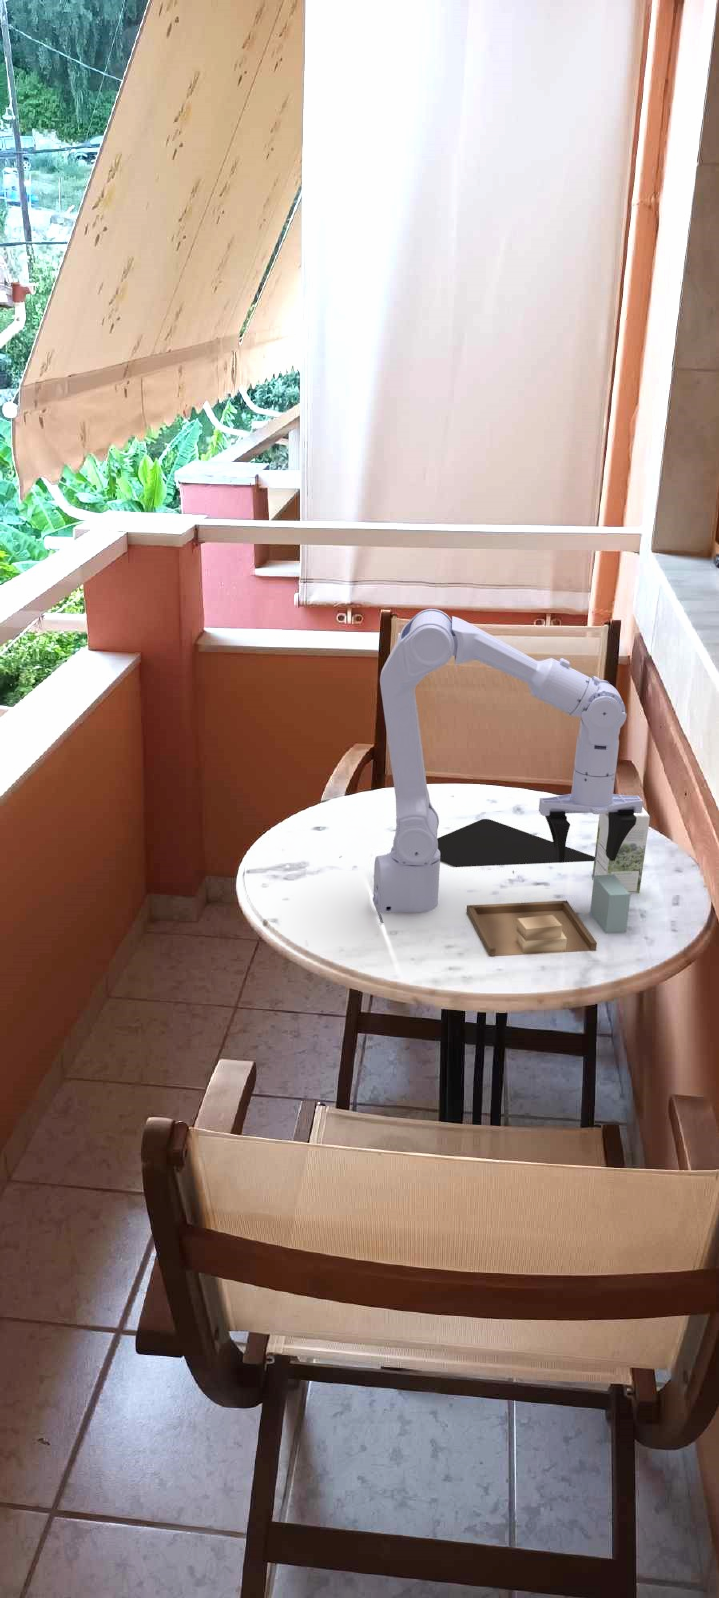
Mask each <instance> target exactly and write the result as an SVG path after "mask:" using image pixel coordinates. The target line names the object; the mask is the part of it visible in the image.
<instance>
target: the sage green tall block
mask: <svg viewBox="0 0 719 1598" xmlns="http://www.w3.org/2000/svg"><path fill="white" fill-rule="evenodd" d="M591 891H592V893H591V901H590V910H589V911H590V912H589V913H590V914H591V916H592V917H593V918H594V920H595V921H596V923H597V924H598V925H599V927H600V928H601V929H602V931H603V932H604V933H605V934H618V933H619V934H621V933H626V932H627V927H628V919H629V909H630V904H631V903H630V902H631V894H632V893H629V892H628V891H627V890H626V888H625V887H624V886H623V885H622V884H621V882H620V881H619V880H618V879H617V878H616V876H615V875H594V881H593V880H592V890H591Z"/></svg>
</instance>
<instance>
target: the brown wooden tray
mask: <svg viewBox="0 0 719 1598" xmlns="http://www.w3.org/2000/svg"><path fill="white" fill-rule="evenodd" d="M466 914H467V916H468V918H469V920H470V923H471V924H472V926H473V928H474V930H475V931H476V934H477V936H478V937H479V939H480V942H481V943H482V945H483V947H484V948H485V950H486V953H487V955H488V956H489V957H502V956H504V957H505V956H506V957H507V956H519V955H520V956H521V955H539V954H540V955H541V954H542V955H543V954H554V953H555V954H558V953H575V952H576V953H577V952H591V951H592V952H594V951H597V945H598V942H597V941H596V940H595V938H594V937H593V935H592V934H591V933H590V931H589V930H588V929H587V927H586V925H585V924H584V923H583V921H582V920H581V918H580V917H579V916H578V914H577V913H576V912H575V910H574V909H573V907H572V906H571V905H570V903H569V901H568V900H551V901H550V900H549V901H533V902H532V901H530V902H527V901H526V902H510V903H509V902H508V903H507V902H506V903H491V904H490V903H489V904H488V903H487V904H468V905H466ZM546 915H553V916H554V917H555V918H556V919H557V920H558V921H559V922H560V924H561V925H562V932H563V934H564V935H565V937H566V938H567V941H566V950H563V951H545V952H527V953H523V952H522V950H521V948H520V947H519V945H518V943H517V941H516V936H517V918H527V917H537V916H546Z"/></svg>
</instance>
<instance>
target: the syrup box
mask: <svg viewBox="0 0 719 1598" xmlns="http://www.w3.org/2000/svg"><path fill="white" fill-rule="evenodd" d="M598 815H599V816H598V823H597V824H598V825H597V833H596V842H595V849H594V850H595V851H594V857H595V858H594V861H593V869H592V875H591V879H592V882H593V881H594V875H615V876H616V878H617V879H618V880H619V881H620V882H621V884H622V885H623V886H624V887H625V888H626V890H627V891H628V892H629V893H630V894H640V892H641V886H642V885H641V884H642V883H641V882H642V879H643V878H642V877H643V870H644V863H645V854H646V849H647V848H646V847H647V841H648V833H649V825H650V820H651V819H650V818H651V816H650V815H649V813H648V812H647V811H646V810H645V808H644V807H643V806H642V813H634V815H635V816H636V818H637V819H636V824H635V826H634V827H633V828H632V829H631V830H630V832H629V833H628V834H627V836H626V837H625V839H624V841H623V843H622V845H621V847H620V849H619V851H618V854H617V856H616V859H615V861H610V860H609V858H608V857H607V856H606V845H607V838H608V827H609V817H608V812H607V813H606V814H598Z"/></svg>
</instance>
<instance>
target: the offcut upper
mask: <svg viewBox="0 0 719 1598" xmlns="http://www.w3.org/2000/svg"><path fill="white" fill-rule="evenodd" d="M517 931H518V933H519V934H520V935H521V936H522V938H523V939H524V940H525V941H531V940H540V939H549V938H559V937H561V933H562V925H561V924H560V922H559V921H558V920H557V919H556V918H555V917H554V916H553V915H546V916H537V917H527V918H517Z"/></svg>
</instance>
